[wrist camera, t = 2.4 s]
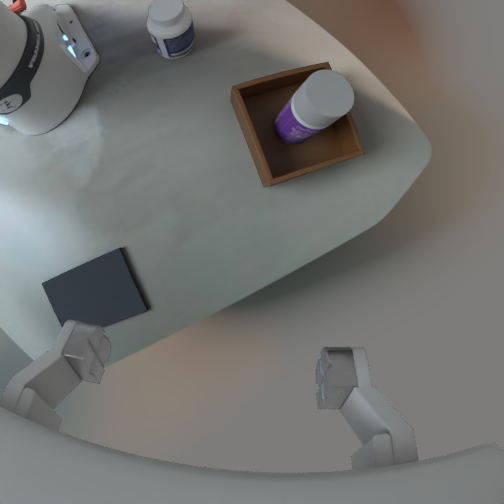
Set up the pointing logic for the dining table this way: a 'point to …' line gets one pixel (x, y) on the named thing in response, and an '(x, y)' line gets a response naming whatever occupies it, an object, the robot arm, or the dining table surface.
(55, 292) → the pad
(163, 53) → the pill bottle
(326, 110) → the container
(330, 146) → the wooden tray
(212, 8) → the dining table surface
